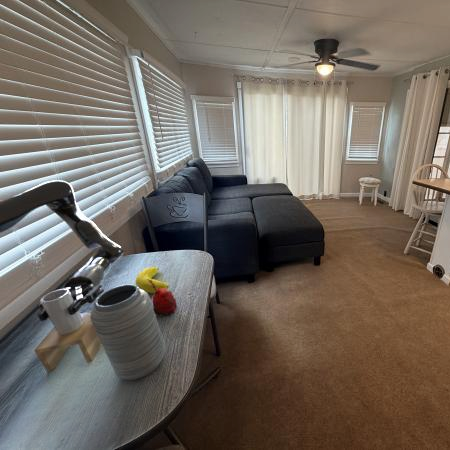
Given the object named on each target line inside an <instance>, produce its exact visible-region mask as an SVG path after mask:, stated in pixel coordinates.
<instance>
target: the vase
mask: <svg viewBox="0 0 450 450" xmlns="http://www.w3.org/2000/svg"><path fill="white" fill-rule="evenodd" d="M151 300H152V299H151V298H150V295H149V293H148V292H145V291H144V290H142V289H139V288H138V286H137V285H136V284H132V283H131V284H129V283H128V284H122V285H118V286H115V287H112V288H109V289H108V290H104V292H103V293H102V294H101V295H99V296H98V297H97V298H96V300H95V301H94V302H93V307H92V309H91V311H90V312H91V316H90V318H91V322H92V324H93V326H94V328H95V330H96V333H97V335H98V337H99V339H100V341H101V347H102V348H103V351H104V352H105V355H106V357H107V359H108V361H109V363H110V365H111V368H112V370H113V372H114V374H115V376H117V378H119V379H122V380H128V381H131V380H139V379H142V378H145V377H147V376H148V375H150V374H152V373H153V372H154V371H155V370H156V369H158V367H159V365H160V364H161V362H162V361H163V358H164V356H165V354H166V343H165V340H164V338H163V334H162V331H161V329H160V325H159V322H158V320H157V315H156V314H155V313H154V310H153V308H154V307H153V303H152V301H151Z"/></svg>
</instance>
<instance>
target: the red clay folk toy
mask: <svg viewBox="0 0 450 450" xmlns="http://www.w3.org/2000/svg"><path fill="white" fill-rule="evenodd" d="M151 279H153V277H152V278H151ZM148 281H150V282H151V283H152V286H153V288H154V289H155V290H156V292H155V293H153V294H152V297H151V300H152V301H151V303H152V307H153V310H154V313H155V316H156V317H157V316H158V317H164V316H170V315H171V314H173V313H175V312H176V311H177V308H178V304H177V300H176V298H175V297H174V295H173V293H172V291H171V290H168V288H167V289H165V288H162V289H161V288H158V289H156V288H155V284H153V282H152V280H149V279H148ZM150 282H149V283H150ZM149 283H148V284H149Z"/></svg>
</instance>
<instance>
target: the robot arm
mask: <svg viewBox="0 0 450 450" xmlns="http://www.w3.org/2000/svg"><path fill="white" fill-rule="evenodd" d="M44 206H46V207H47V208H48V209H50V210H51V212H53V213H55V215H57V216H58V217H59V218H60V219H62V220H63V221H64V222H65V224H66V225H67V226H68V227H69V228H70V230H71V231H72V232H73V233H74V234H75V236H76V238H78V240H79V241H80V243H82V245H83V246H84V247H85V248H87V249H89V250H94V249H98V248H99V247H100V248H99V249H98V250H97V251H96V252H94V254H93V255H92V256H91V257H90V258H89V260H88V261H87V262H86V263H84V265H83V266H81V267H80V268H79V269H78V270H76V271H75V272H74V273H73V274H72V275H71V277H70V278H69V279H68V280H67V281H66V282H65V284H64V287H63V289H68V290H69V291H70V293H71V295H72V297H73V299H74V302H73V303H72V304H71V306H70V307H69V308H68V312H69V314H70V315H74V314H75V313H76V312H77V311H79V312H80V310H81V308H82V307H84V306H86V304H92V303H94V302H95V300H96V298H97V297H98V296H99V295H101V294H102V293H104V292H105V290H104V286H103V285H102V282H103V281H104V279H105V277H106V276H107V275H108V273H109V272H110V270H111V267H112V266H113V265H114V264H115V263H116V262H117V261H119V260H120V259H121V258H122V257H123V256H124V249H123V247H122V246H121V245H120V244H118V243H117V242H115V241H114V240H112V239H111V238H109V237H108V236H106V235H105V234H104V233H103V231H102V230H101V229H100V228H99V227H98V225H96V223H95V222H93V221H92V220H91V219H90V218H88V217H87V216H85V215H84V214H83V212H82V211H81V209H80V207H79V206H78V204H77V202H76V196H75V192H74V189H73V187H72V184H70V183H69V182H67V181H65V180H57V179H56V180H50V181H46V182H43V183H40V184H39V185H37V186H34V187H32V188H29V189H28V190H25V191H24V192H21V193H19V194H16V195H14V196H12V197H11V196H10V197H9V198H6V199H3V200H1V201H0V235H1V234H3V233H6V232H7V231H10V230H11V229H13V228H14V227H16V225H18V224H19V223H20V222H21V221H22V220H24V219H25V218H26V217H27V216H28V215H29V214H31V213H32V212H33V211H35V210H37V209H40V208H42V207H44ZM37 306H38V308H39V310H40V312H39V313H38V314H37V317H38V318H39V320H40V322H44V321H47V320H48V319H49V316H48V315H47V313H46V311H45V309H44V307H43V306H42V304H41V302H40V301H39V303H38V305H37Z"/></svg>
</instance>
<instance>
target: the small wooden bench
mask: <svg viewBox="0 0 450 450" xmlns="http://www.w3.org/2000/svg"><path fill="white" fill-rule="evenodd" d="M80 314H81V316H82V318H83V321H84V323H83V325H82V326H81V327H80V328H79V329H77V330H75V331H74V332H71V333H69V334H65V335H60V334H58V332H57V331H56V329H55V327H54V326H53V327H52V328H51V329H50V331H49V332H48V333H47V334H46V336H45V337H44V338H43V339H42V340H41V342H40V343H39V344H38V345H37V346H36V348H34V353H35V354H36V356H37V358H38V359H39V361H40V362H41V365H42V366H43V367H44V369H45V371H46V372H47V373H50V372H54V370H55V368H56V367H57V366H58V364H59V363H60V362H61V360H62V358H63V357H64V355H65V354H66V353H67V351H68V350H69V349H70V347H71V346H74V345H78V347H79V348H80V351H81V353H82V355H83V357H84V358H85V359H84V360H85V361H86V362H87V363H90V362H93V361H94V359H95V357H96V355H97V353H98V351H100V350H99V349H100V347H102V344H101V341H100V339H99V337H98V335H97V333H96V330H95V328H94V326H93V324H92V322H91V318H90V316H91V311H87V312H83V313H80Z"/></svg>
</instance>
